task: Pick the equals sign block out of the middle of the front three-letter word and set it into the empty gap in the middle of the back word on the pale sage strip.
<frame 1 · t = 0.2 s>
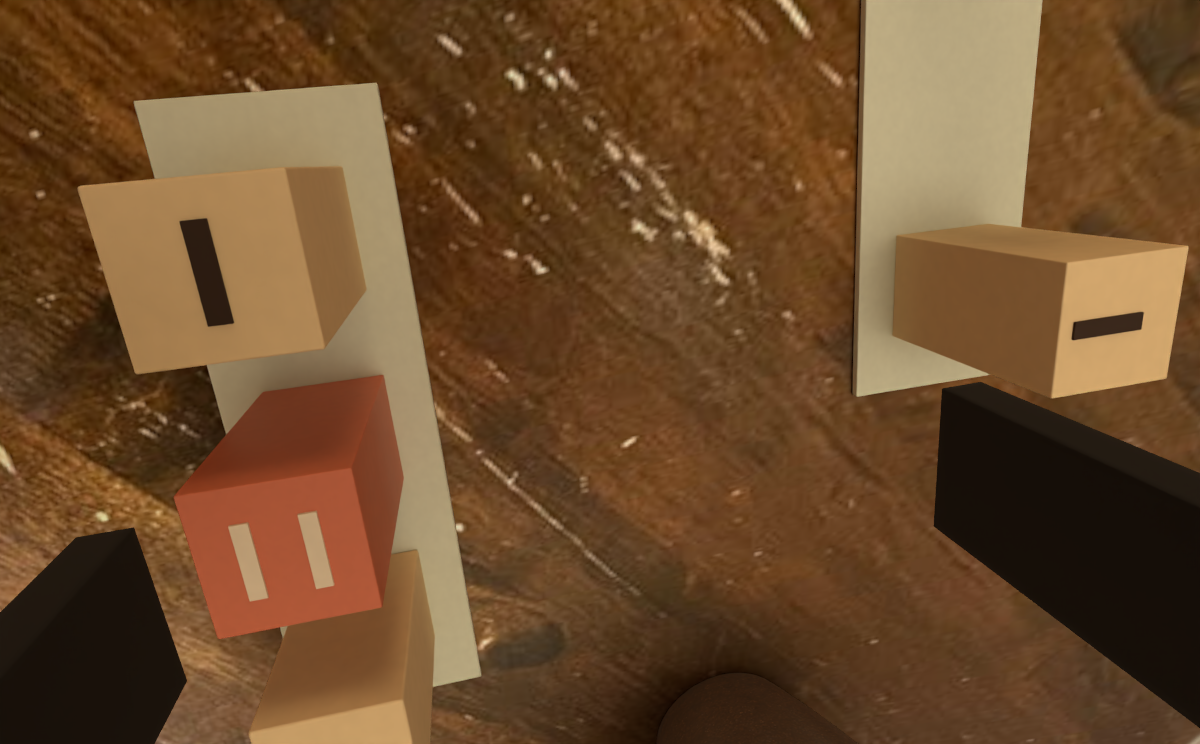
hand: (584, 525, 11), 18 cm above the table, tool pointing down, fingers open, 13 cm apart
equals sign block: (335, 436, 28), resting on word
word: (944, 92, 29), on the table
flower pot: (723, 726, 37), on the table
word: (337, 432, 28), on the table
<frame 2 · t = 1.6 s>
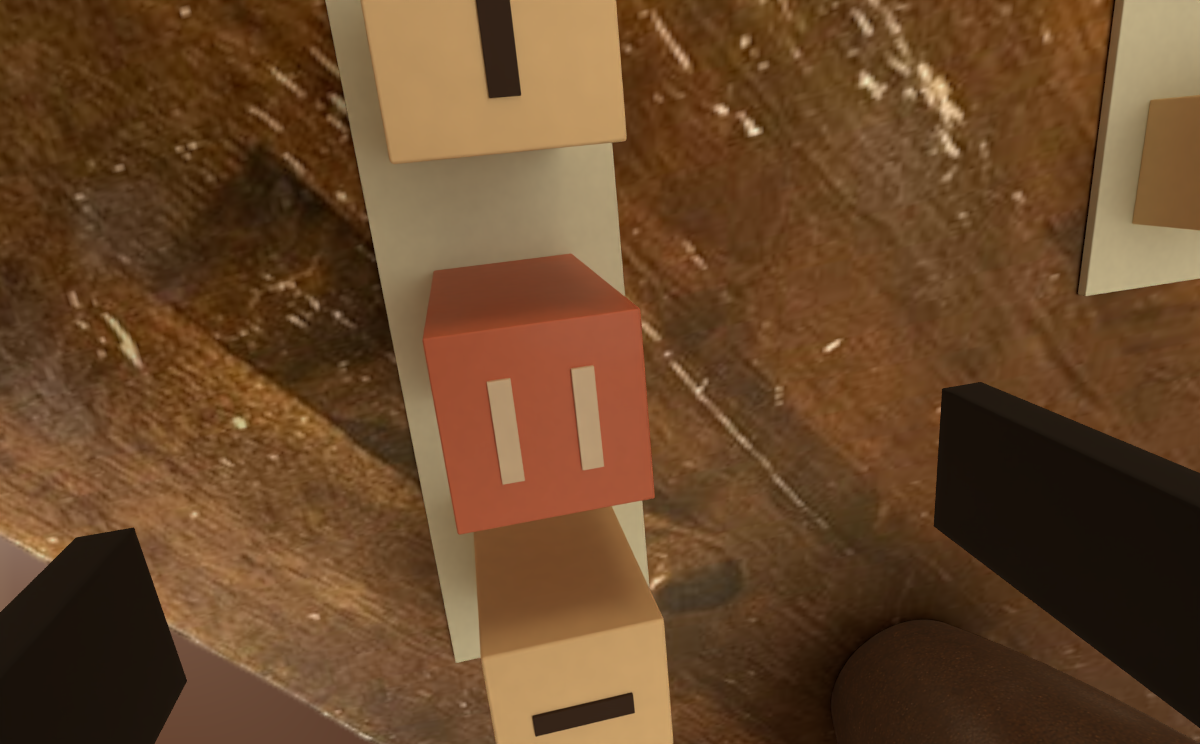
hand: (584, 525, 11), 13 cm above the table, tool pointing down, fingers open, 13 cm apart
equals sign block: (513, 328, 23), resting on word
flower pot: (900, 681, 33), on the table
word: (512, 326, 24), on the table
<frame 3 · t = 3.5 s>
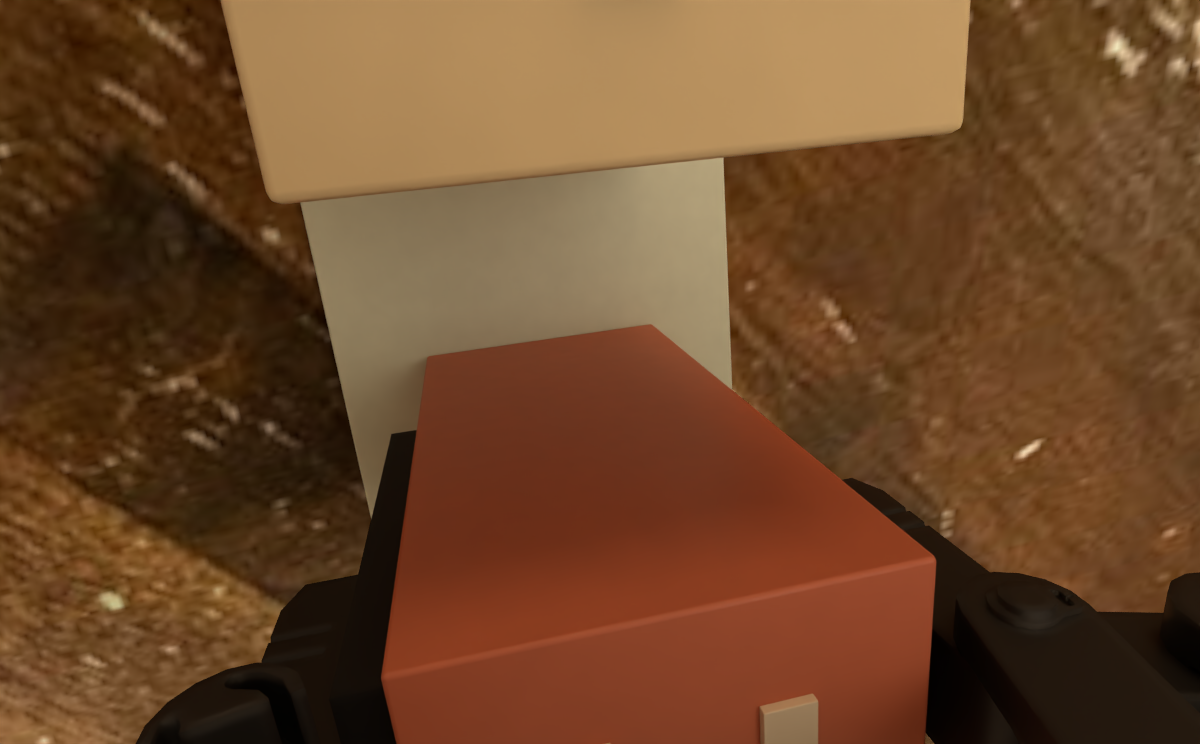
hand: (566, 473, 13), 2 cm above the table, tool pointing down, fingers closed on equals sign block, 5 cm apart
equals sign block: (555, 443, 15), resting on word, touching gripper
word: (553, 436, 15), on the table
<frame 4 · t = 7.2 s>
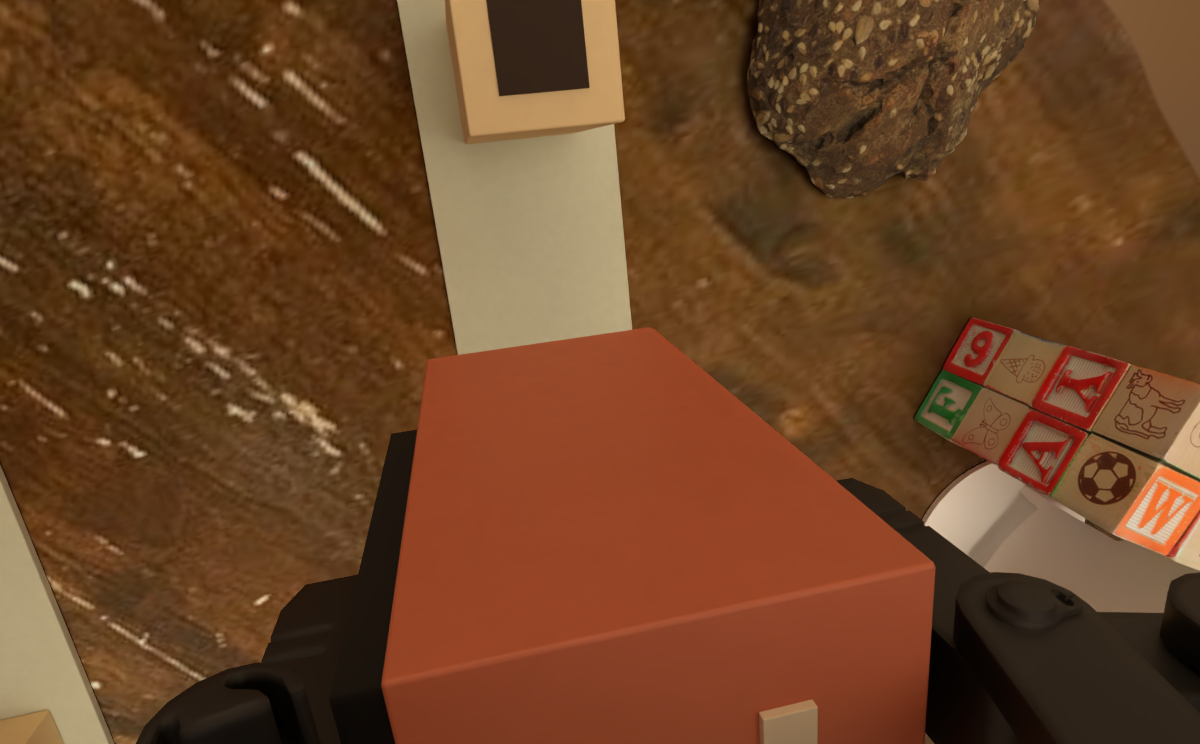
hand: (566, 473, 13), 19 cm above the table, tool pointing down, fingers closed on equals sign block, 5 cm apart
equals sign block: (555, 446, 15), point 17 cm above the table, touching gripper
panda figurine: (990, 545, 41), on the table, touching stack of blocks
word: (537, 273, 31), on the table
stack of blocks: (1073, 434, 40), on the table, touching panda figurine
bread roll: (867, 49, 31), on the table
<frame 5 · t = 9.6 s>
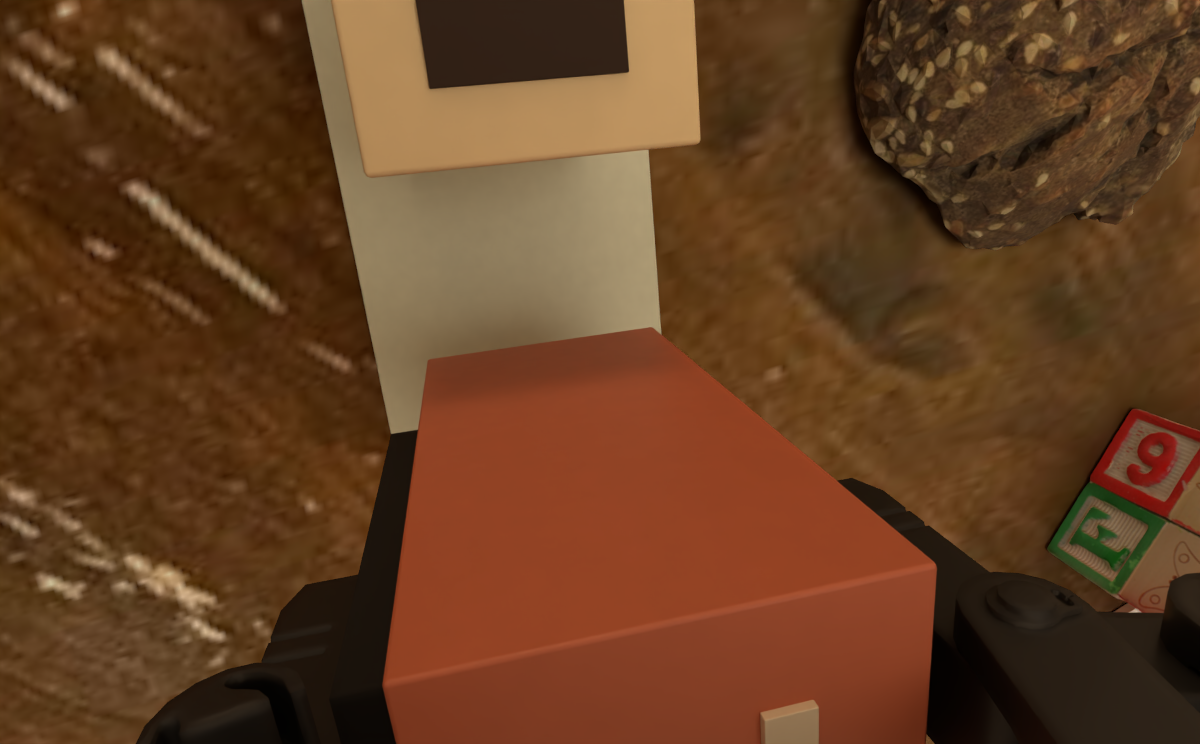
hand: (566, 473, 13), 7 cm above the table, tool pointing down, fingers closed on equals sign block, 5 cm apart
equals sign block: (556, 446, 15), point 6 cm above the table, touching gripper
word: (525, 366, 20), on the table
bread roll: (1032, 24, 20), on the table
when the fingers open (2 cm above the table, at t = 11.1 s): equals sign block stays where it is, resting on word.
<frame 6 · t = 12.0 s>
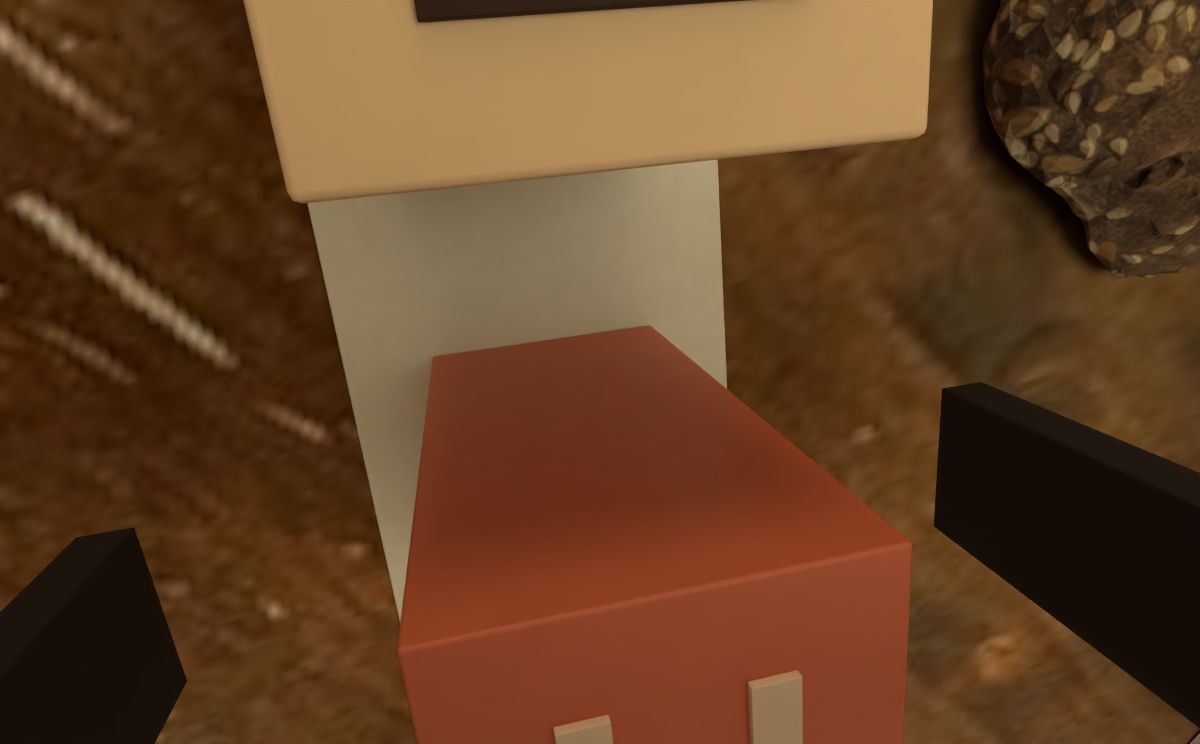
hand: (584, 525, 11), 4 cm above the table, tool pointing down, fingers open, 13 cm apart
equals sign block: (557, 441, 15), resting on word
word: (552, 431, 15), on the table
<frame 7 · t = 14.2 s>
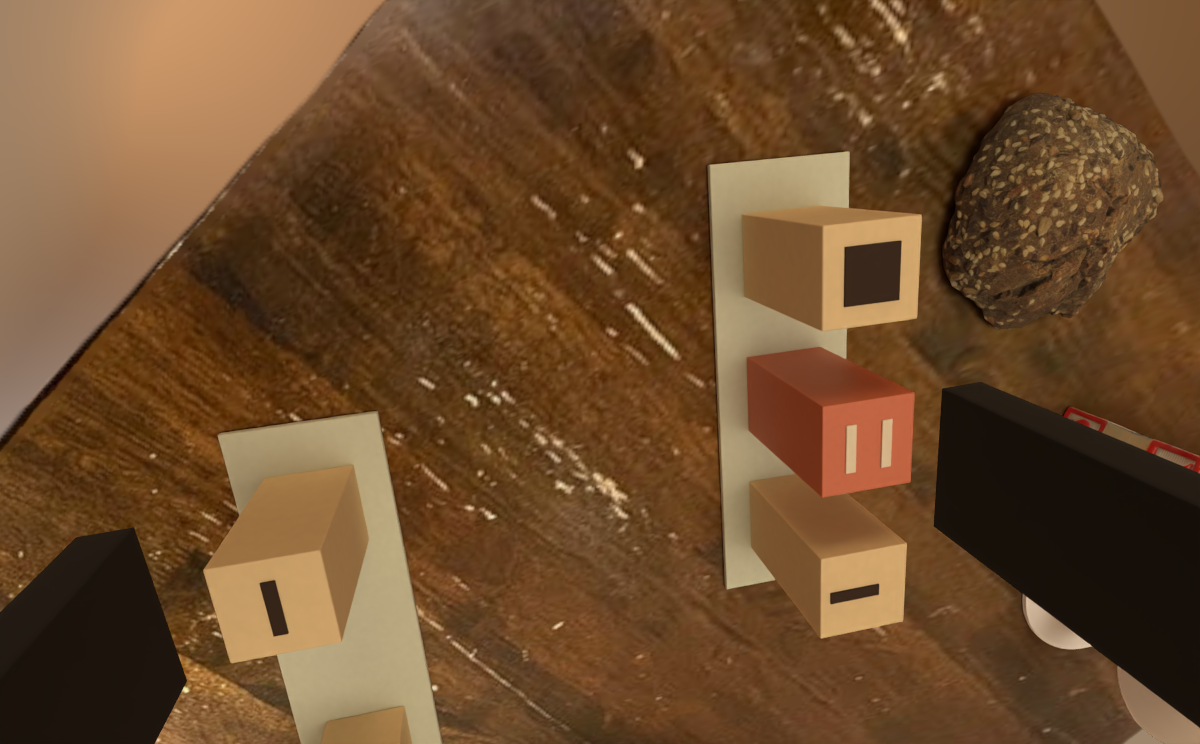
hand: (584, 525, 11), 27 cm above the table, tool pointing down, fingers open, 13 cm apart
equals sign block: (784, 389, 41), resting on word
panda figurine: (1086, 581, 50), on the table, touching stack of blocks
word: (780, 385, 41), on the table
stack of blocks: (1152, 489, 49), on the table, touching panda figurine
bread roll: (1028, 221, 41), on the table
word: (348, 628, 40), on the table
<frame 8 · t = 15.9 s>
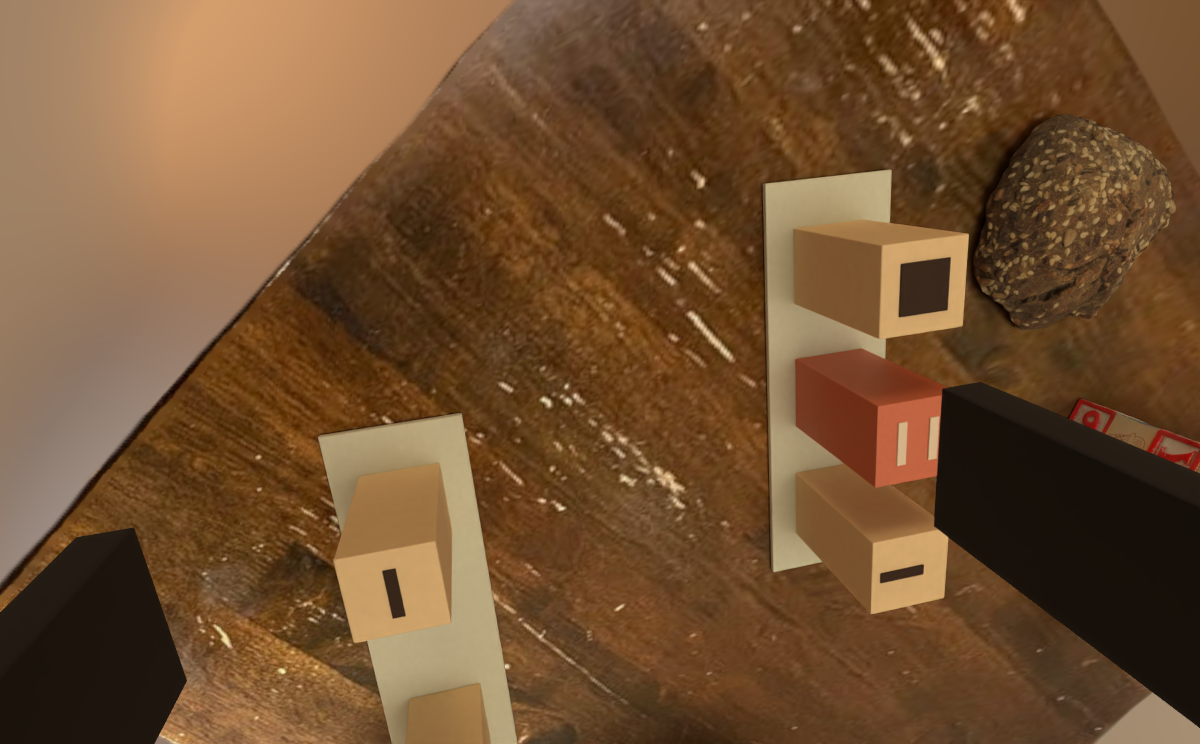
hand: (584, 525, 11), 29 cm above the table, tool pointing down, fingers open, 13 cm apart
equals sign block: (828, 387, 44), resting on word
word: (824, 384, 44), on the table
stack of blocks: (1156, 471, 53), on the table, touching panda figurine
bread roll: (1051, 230, 45), on the table
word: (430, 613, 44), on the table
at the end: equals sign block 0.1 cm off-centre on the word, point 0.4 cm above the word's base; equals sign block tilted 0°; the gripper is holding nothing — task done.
